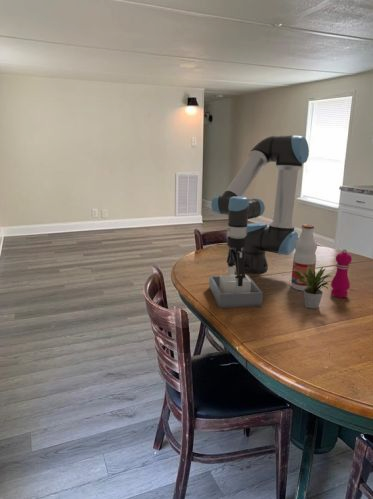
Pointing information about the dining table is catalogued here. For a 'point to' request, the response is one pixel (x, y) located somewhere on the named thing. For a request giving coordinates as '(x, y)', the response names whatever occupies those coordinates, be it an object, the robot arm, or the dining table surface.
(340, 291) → the pepper mill
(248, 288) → the white crate
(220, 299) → the slate crate
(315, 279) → the house plant
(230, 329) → the dining table surface
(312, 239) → the fruit juice
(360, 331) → the dining table surface
